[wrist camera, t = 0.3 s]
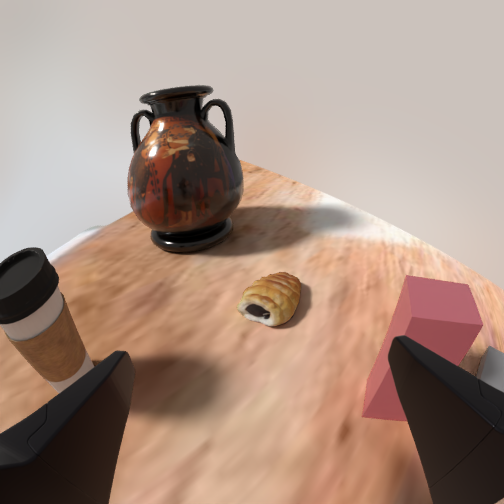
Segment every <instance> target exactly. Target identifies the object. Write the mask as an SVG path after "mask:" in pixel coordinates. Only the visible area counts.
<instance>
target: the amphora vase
mask: <svg viewBox="0 0 504 504" xmlns="http://www.w3.org/2000/svg"><path fill="white" fill-rule="evenodd" d="M212 92H213V88H212V87H210V86H204V85H197V86H185V87H175V88H170V89H163V90H158V91H154V92H150V93H147V94H144V95H142V96H141V97H140V99H139V100H140V102H141V103H144V104H148V105H150V106H151V109H152V112H153V113H152V112H150V111H148V110H140V111H138V112H137V113H136V114H135V115H134V116H133V119H132V122H131V137H132V144H133V151H134V156H133V158H132V160H131V164H130V167H129V173H128V197H129V201H130V204H131V207H132V209H133V211H134V213H135V214H136V216H137V217H138V219H139V220H140V221H141V222H142V223H143V224H144V225H146V226H147V227H149V228H151V229H152V230H151V240H152V242H153V243H154V244H155V245H156V246H158V247H159V248H161V249H163V250H167V251H172V252H192V251H197V250H202V249H205V248H208V247H212V246H214V245H216V244H218V243H220V242H222V241H223V240H224V239H226V238H227V237H228V236H229V235H230V233H231V232H232V230H233V221H232V220H231V218H230V216H231V215H232V213H233V212H234V211H235V210H236V208H237V206H238V205H239V203H240V201H241V198H242V195H243V172H242V168H241V163H240V161H239V159H238V157H237V156H236V154H235V144H234V132H233V119H232V115H231V110H230V108H229V106H228V105H227V103H226V102H225V101H222V100H220V99H213V100H210V101H209V102H208V103H207V104H206V105H204V107H203V108H202V104H203V98H205V97H206V96H207V95H210V94H211V93H212ZM215 105H216V106H219V107H220V108H221V109H222V111H223V114H224V118H225V121H226V136H225V137H224V136H223V135H222V134H221V132H220V131H219V130H218V129H217V128H215V127H214V126H213V125H212V124H211V123H210V122H209V121H208V111H209V110H210V109H211V107H212V106H215ZM142 116H145V117H146V118H147V119H149V122H150V129H149V131H148V133H147V134H146V136H145V137H144V139H143V140H142V142H141V140H140V135H139V122H140V119H141V118H142Z"/></svg>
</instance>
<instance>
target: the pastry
mask: <svg viewBox="0 0 504 504" xmlns="http://www.w3.org/2000/svg"><path fill="white" fill-rule="evenodd" d="M300 291H301V283H300V281H299V279H298V278H297V277H295V276H293V275H289V274H288V273H286V272H279V273H276V274H273V275H272V274H270V275H268V276H267V277H262V278H261V279H260V280H257V281H255V282H254V283H253V285H252V287H248V288H247V289H246V290H245V291H244V292H243V296H242V299H241V301H240V303H239V304H238V305H237V309H238V311H239V312H240V313H241V314H242V316H244V317H245V318H247V319H249V320H251V321H256V322H261V323H263V324H265V325H267V326H277V325H281V324H283V323H285V322H287V321H288V320H289V319H290V318H291V317H292V316H293V314H294V312H295V309H296V307H297V305H298V303H299V298H300Z"/></svg>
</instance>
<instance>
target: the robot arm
mask: <svg viewBox="0 0 504 504" xmlns="http://www.w3.org/2000/svg"><path fill="white" fill-rule="evenodd" d="M388 362H389V365H390V369H391V372H392V376H393V380H394V383H395V387H396V391H397V394H398V397H399V400H400V403H401V405H402V408H403V411H404V413H405V416H406V419H407V421H408V424H409V427H410V430H411V433H412V436H413V438H414V441H415V444H416V447H417V450H418V453H419V457H420V460H421V463H422V466H423V469H424V473H425V476H426V480H427V483H428V487H429V491H430V494H431V498H432V502H433V504H504V392H502V391H500V390H498V389H496V388H495V387H493V386H491V385H489V384H487V383H486V382H484V381H482V380H481V379H478V378H477V377H475V376H474V375H472V374H470V373H469V372H467V371H465V370H464V369H462V368H460V367H458V366H457V365H455V364H453V363H452V362H450V361H448V360H447V359H445V358H443V357H441V356H440V355H438V354H436V353H435V352H433V351H431V350H430V349H428V348H426V347H424V346H423V345H421V344H419V343H418V342H416V341H414V340H412V339H411V338H409V337H407V336H405V335H401V336H396V337H394V338H393V340H392V343H391V346H390V349H389V352H388ZM134 378H135V368H134V365H133V363H132V361H131V358H130V356H129V354H128V352H126V351H115V352H113V353H112V354H111V355H109V356H108V357H107V358H105V359H104V360H103V361H102V362H100V363H99V364H98V365H96V366H95V367H94V368H92V369H91V370H90V371H88V372H87V373H86V374H84V375H83V376H82V377H80V378H79V379H78V380H76V381H75V382H74V383H72V384H71V385H70V386H68V387H67V388H66V389H64V390H63V391H62V392H61V393H59V394H58V395H57V396H55V397H54V398H53V399H51V400H50V401H49V402H48V404H47V403H46V404H45V405H43V406H42V407H41V408H39V409H38V410H37V411H35V412H34V413H32V414H31V415H30V416H28V417H26V418H25V419H23V420H22V421H20V422H19V423H17V424H15V425H14V426H12V427H10V428H9V429H7V430H5V431H4V432H2V433H1V434H0V504H109V499H110V493H111V488H112V483H113V478H114V473H115V468H116V464H117V459H118V455H119V450H120V446H121V442H122V438H123V434H124V430H125V426H126V422H127V418H128V414H129V409H130V403H131V397H132V390H133V384H134Z"/></svg>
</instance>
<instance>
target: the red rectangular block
mask: <svg viewBox="0 0 504 504" xmlns="http://www.w3.org/2000/svg"><path fill="white" fill-rule="evenodd" d="M482 326H483V323H482V320H481V317H480V314H479V311H478V309H477V306H476V303H475V301H474V298H473V295H472V293H471V290H470V288H469V285H467V284H461V283H454V282H448V281H441V280H435V279H428V278H422V277H415V276H408V275H406V277H405V281H404V284H403V287H402V291H401V294H400V297H399V300H398V303H397V306H396V309H395V312H394V315H393V318H392V321H391V323H390V326H389V329H388V331H387V334H386V337H385V339H384V342H383V344H382V347H381V349H380V352H379V354H378V357H377V359H376V361H375V364H374V366H373V368H372V370H371V373H370V375H369V377H368V379H367V386H366V393H365V400H364V407H363V413H362V417H367V418H376V419H385V420H396V421H407V419H406V416H405V413H404V411H403V408H402V405H401V403H400V400H399V397H398V394H397V391H396V387H395V383H394V380H393V376H392V372H391V369H390V365H389V362H388V352H389V349H390V346H391V343H392V340H393V338H394V337H396V336H401V335H405V336H407V337H409V338H411V339H412V340H414V341H416V342H418V343H419V344H421V345H423V346H424V347H426V348H428V349H430V350H431V351H433V352H435V353H436V354H438V355H440V356H441V357H443V358H445V359H447V360H448V361H450V362H452V363H453V364H455V365H457V366H458V365H459V364H460V362H461V361H462V359H463V358H464V356H465V355H466V353H467V352H468V350H469V348H470V347H471V345H472V344H473V342H474V340H475V338H476V337H477V335H478V333H479V332H480V330H481V328H482Z"/></svg>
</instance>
